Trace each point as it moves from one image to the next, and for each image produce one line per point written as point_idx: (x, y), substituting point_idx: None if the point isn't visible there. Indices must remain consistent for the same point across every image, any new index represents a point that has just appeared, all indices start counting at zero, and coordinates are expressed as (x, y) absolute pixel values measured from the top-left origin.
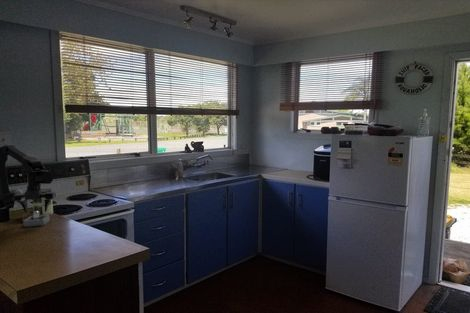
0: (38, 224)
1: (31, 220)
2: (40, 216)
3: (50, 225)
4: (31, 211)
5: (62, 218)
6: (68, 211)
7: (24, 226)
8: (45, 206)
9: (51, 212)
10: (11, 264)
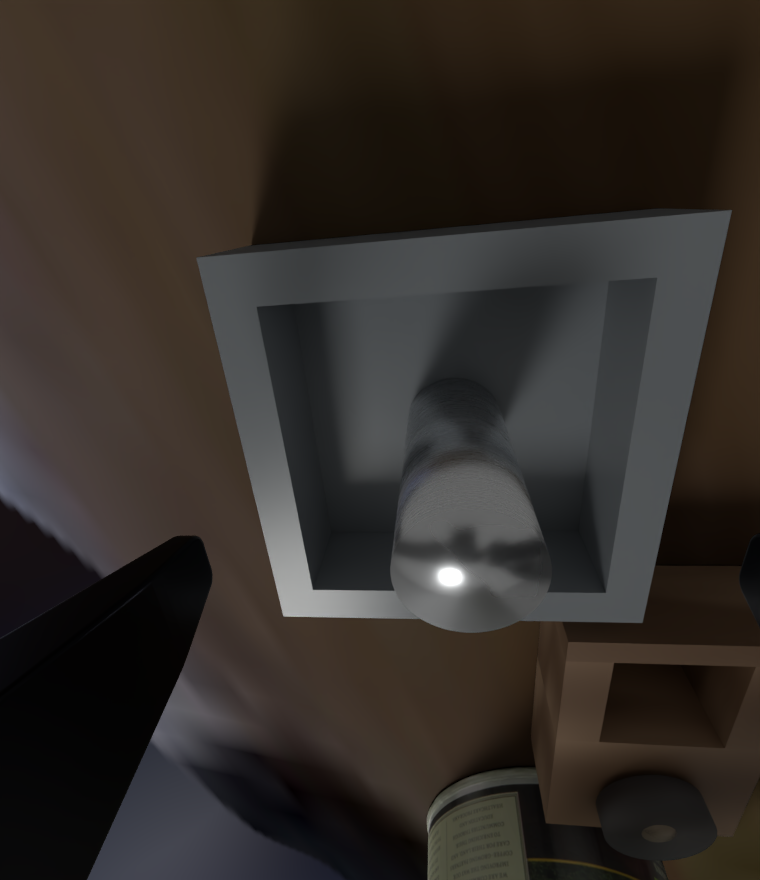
0: (345, 239)
1: (498, 242)
2: None
3: (113, 214)
4: (679, 826)
5: None
6: (275, 829)
7: (641, 210)
8: (15, 658)
9: (431, 826)
10: None
